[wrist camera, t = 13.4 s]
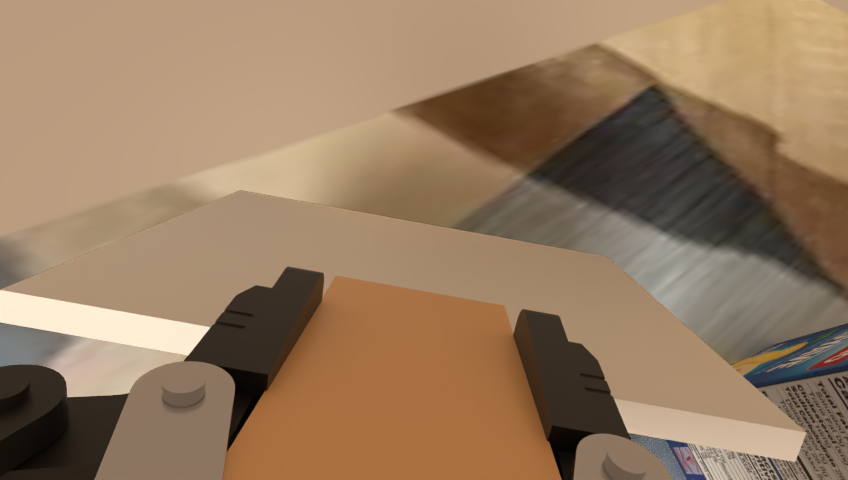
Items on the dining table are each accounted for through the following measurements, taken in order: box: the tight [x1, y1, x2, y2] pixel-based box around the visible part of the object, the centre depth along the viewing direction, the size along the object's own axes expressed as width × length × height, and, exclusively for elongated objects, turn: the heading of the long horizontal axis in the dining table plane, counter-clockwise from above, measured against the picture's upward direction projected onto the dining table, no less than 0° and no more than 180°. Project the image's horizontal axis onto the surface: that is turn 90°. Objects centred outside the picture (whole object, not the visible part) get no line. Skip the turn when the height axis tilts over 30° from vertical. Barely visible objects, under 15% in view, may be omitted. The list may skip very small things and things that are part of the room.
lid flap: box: [0, 190, 806, 480], centre depth 17 cm, size 19×23×2 cm
